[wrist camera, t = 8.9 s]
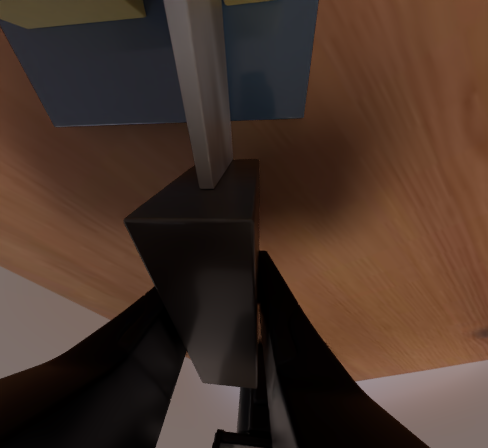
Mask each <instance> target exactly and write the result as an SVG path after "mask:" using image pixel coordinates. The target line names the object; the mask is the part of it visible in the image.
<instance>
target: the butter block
mask: <svg viewBox="0 0 488 448" xmlns="http://www.w3.org/2000/svg"><path fill="white" fill-rule="evenodd" d="M143 17H146V13H145V8H144V4H143V0H0V19H1V20H4V21H7V22H10V23H12V24H15V25H18V26H21V27H24V28H26V29H33V28H43V27H53V26H63V25H73V24H83V23H93V22H103V21H113V20H123V19H133V18H143Z"/></svg>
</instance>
